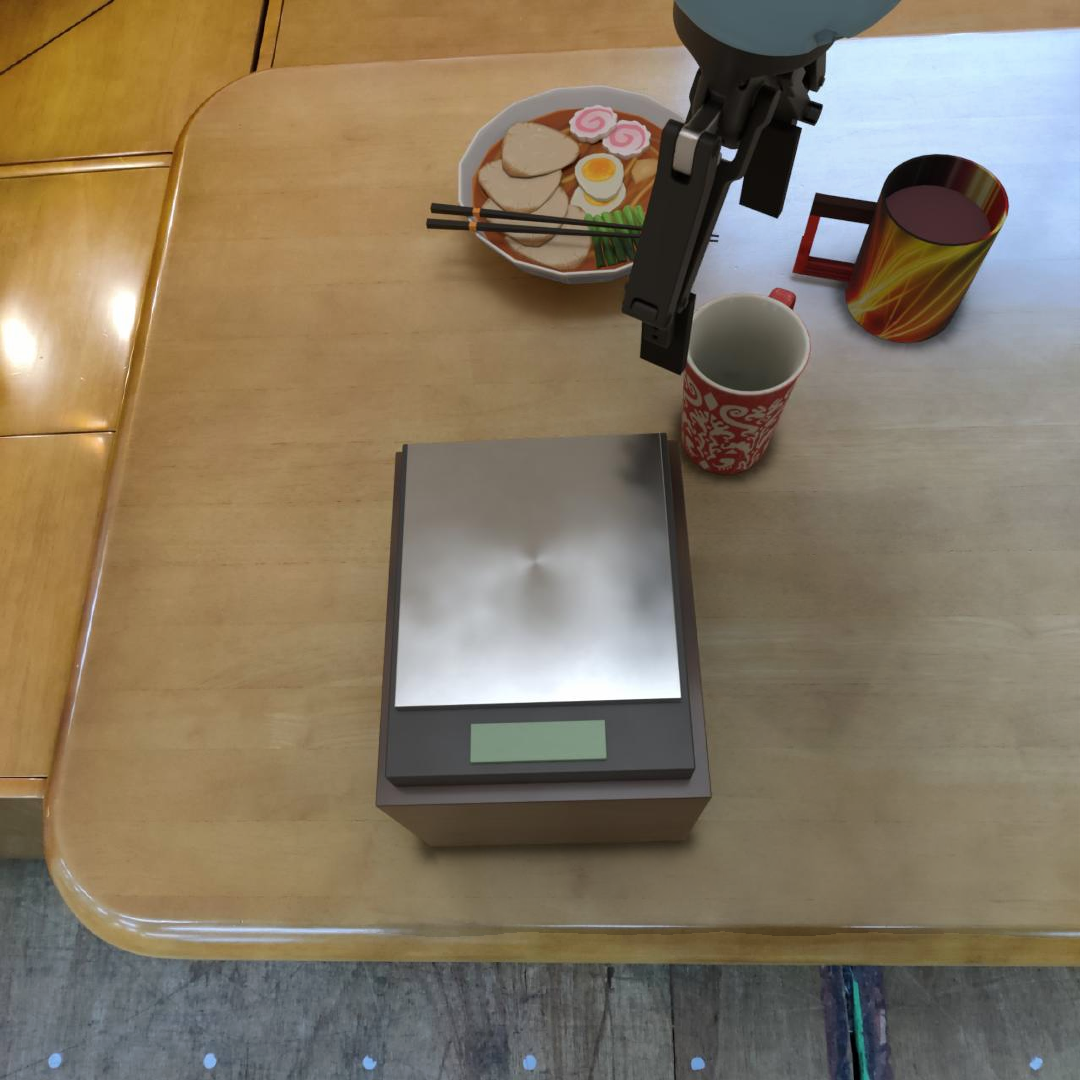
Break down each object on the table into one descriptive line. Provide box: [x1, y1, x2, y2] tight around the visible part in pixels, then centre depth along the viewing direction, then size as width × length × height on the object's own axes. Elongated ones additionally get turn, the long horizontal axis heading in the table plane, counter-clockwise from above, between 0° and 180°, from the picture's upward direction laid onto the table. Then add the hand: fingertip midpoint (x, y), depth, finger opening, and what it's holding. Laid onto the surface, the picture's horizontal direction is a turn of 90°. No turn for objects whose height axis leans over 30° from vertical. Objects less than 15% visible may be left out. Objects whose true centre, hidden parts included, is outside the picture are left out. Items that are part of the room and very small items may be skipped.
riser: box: [374, 439, 713, 847], centre depth 62 cm, size 22×18×18 cm
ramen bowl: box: [425, 84, 720, 285], centre depth 85 cm, size 25×23×8 cm
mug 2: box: [792, 153, 1010, 344], centre depth 78 cm, size 10×14×12 cm
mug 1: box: [680, 287, 812, 475], centre depth 73 cm, size 13×9×14 cm
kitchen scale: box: [385, 432, 696, 787], centre depth 53 cm, size 20×16×3 cm
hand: (713, 282), depth 58 cm, fingers open, 13 cm apart
